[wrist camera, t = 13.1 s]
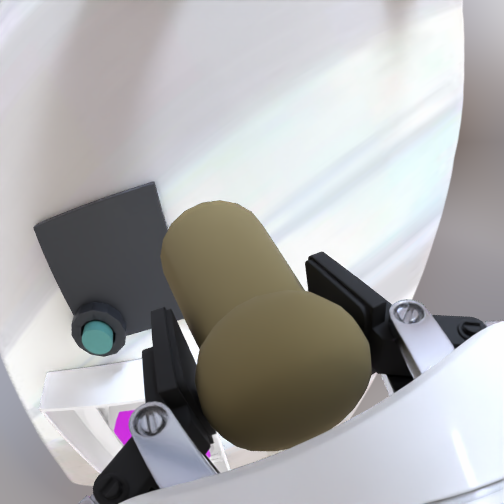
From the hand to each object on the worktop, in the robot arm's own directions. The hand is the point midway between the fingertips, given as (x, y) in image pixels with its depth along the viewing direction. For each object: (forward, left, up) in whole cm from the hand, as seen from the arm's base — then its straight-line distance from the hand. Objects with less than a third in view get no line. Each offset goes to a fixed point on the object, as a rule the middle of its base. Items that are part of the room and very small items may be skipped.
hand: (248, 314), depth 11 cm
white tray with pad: (+36, -18, -22) cm, 45 cm away
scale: (+6, -10, -21) cm, 24 cm away
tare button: (+11, -14, -19) cm, 26 cm away
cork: (0, 0, -6) cm, 6 cm away
